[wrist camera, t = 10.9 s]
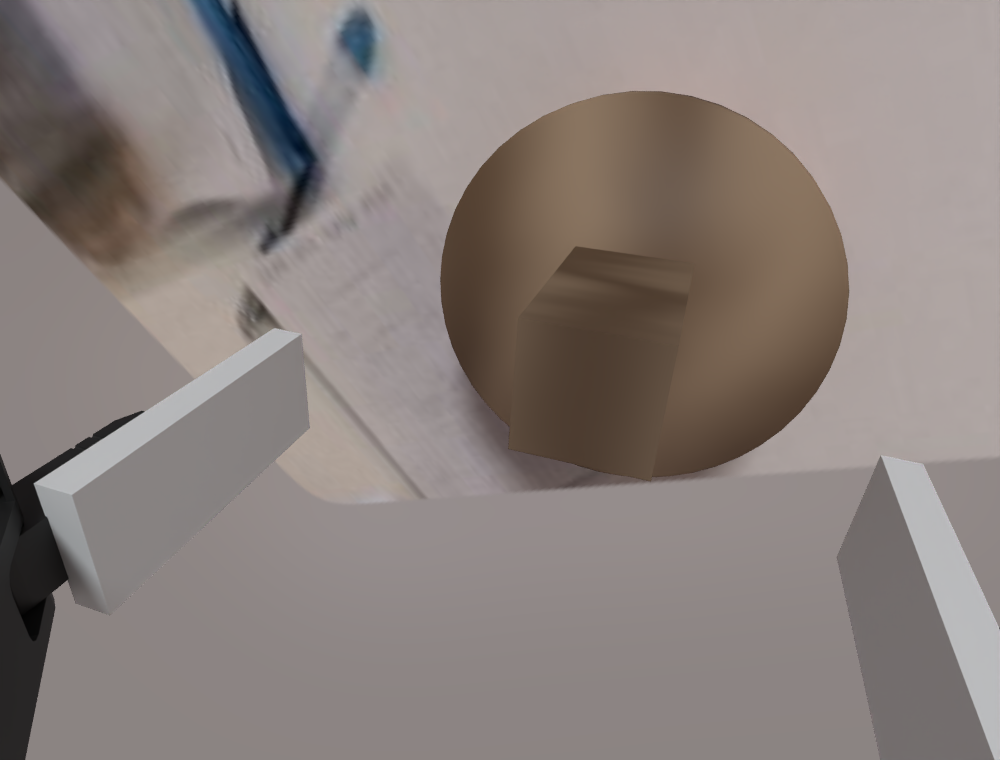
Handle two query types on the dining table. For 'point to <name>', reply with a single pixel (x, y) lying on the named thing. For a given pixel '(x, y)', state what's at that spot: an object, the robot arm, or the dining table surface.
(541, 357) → the lid
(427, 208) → the dining table surface
